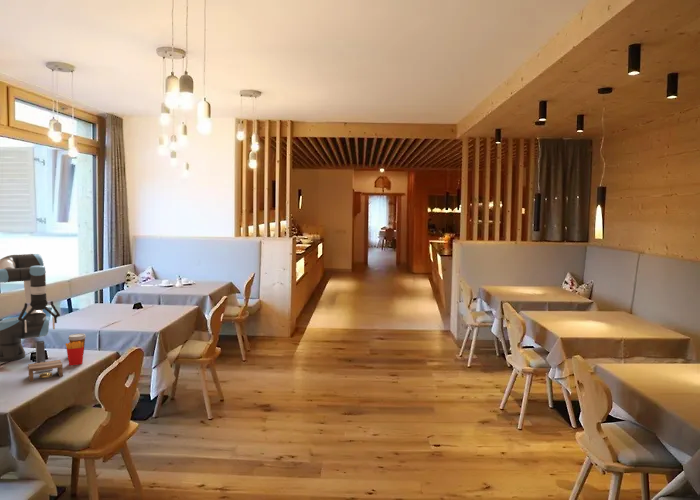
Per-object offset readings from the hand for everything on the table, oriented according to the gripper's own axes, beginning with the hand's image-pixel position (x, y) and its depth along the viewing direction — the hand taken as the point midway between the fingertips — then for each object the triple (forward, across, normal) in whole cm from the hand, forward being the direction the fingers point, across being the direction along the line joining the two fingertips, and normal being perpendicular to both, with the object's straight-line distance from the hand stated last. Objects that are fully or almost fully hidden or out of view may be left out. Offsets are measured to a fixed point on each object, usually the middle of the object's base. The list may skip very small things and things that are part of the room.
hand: (40, 330), depth 295 cm
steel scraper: (+20, 0, -2) cm, 20 cm away
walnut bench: (+20, 0, -22) cm, 30 cm away
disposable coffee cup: (+21, +20, +13) cm, 32 cm away
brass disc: (+20, 0, -22) cm, 30 cm away
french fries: (+20, +16, -7) cm, 27 cm away
